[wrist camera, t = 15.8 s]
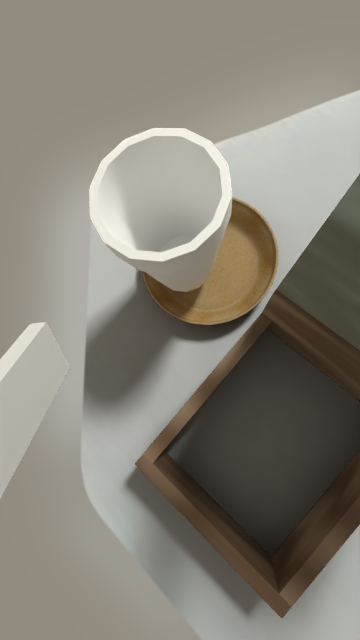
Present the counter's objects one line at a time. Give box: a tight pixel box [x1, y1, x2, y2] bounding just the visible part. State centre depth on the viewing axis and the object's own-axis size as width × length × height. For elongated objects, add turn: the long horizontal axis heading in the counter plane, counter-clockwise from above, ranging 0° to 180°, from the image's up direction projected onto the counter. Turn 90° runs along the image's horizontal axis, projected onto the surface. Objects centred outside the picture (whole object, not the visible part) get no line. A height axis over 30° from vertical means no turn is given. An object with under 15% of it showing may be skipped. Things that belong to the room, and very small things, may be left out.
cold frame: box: [135, 174, 360, 618], centre depth 16 cm, size 25×16×27 cm, turn 139°
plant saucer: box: [142, 197, 278, 325], centre depth 32 cm, size 15×15×3 cm
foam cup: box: [89, 128, 232, 292], centre depth 25 cm, size 10×9×13 cm
